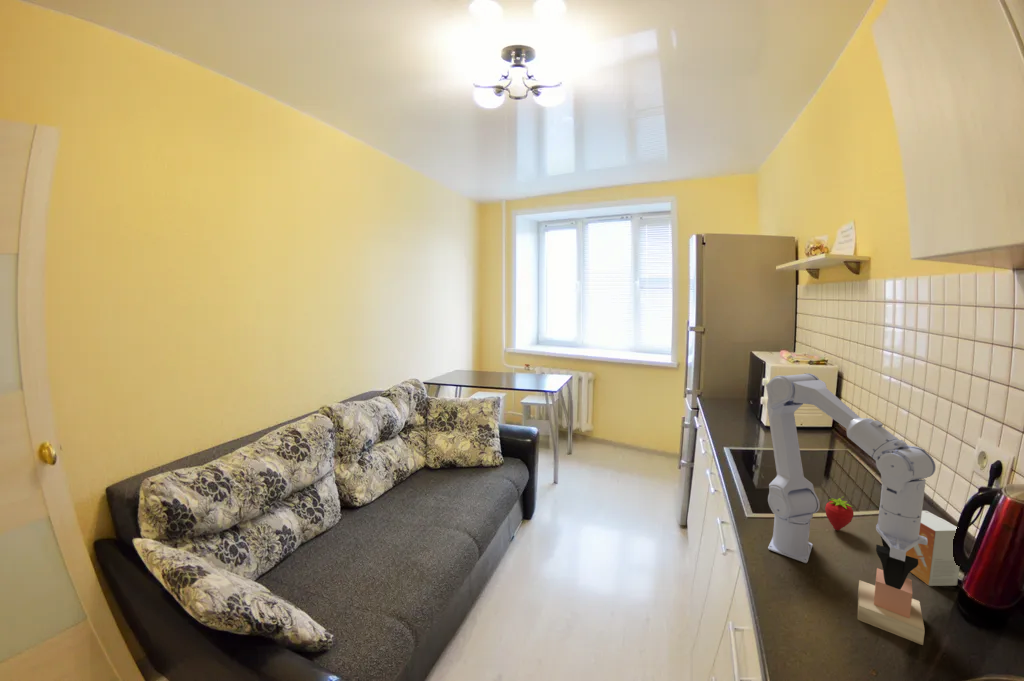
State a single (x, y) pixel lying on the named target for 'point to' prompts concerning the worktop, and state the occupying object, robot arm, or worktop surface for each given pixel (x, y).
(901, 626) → the birch base block
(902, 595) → the terracotta cube
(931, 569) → the small box
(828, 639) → the worktop surface
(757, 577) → the worktop surface
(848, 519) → the strawberry
